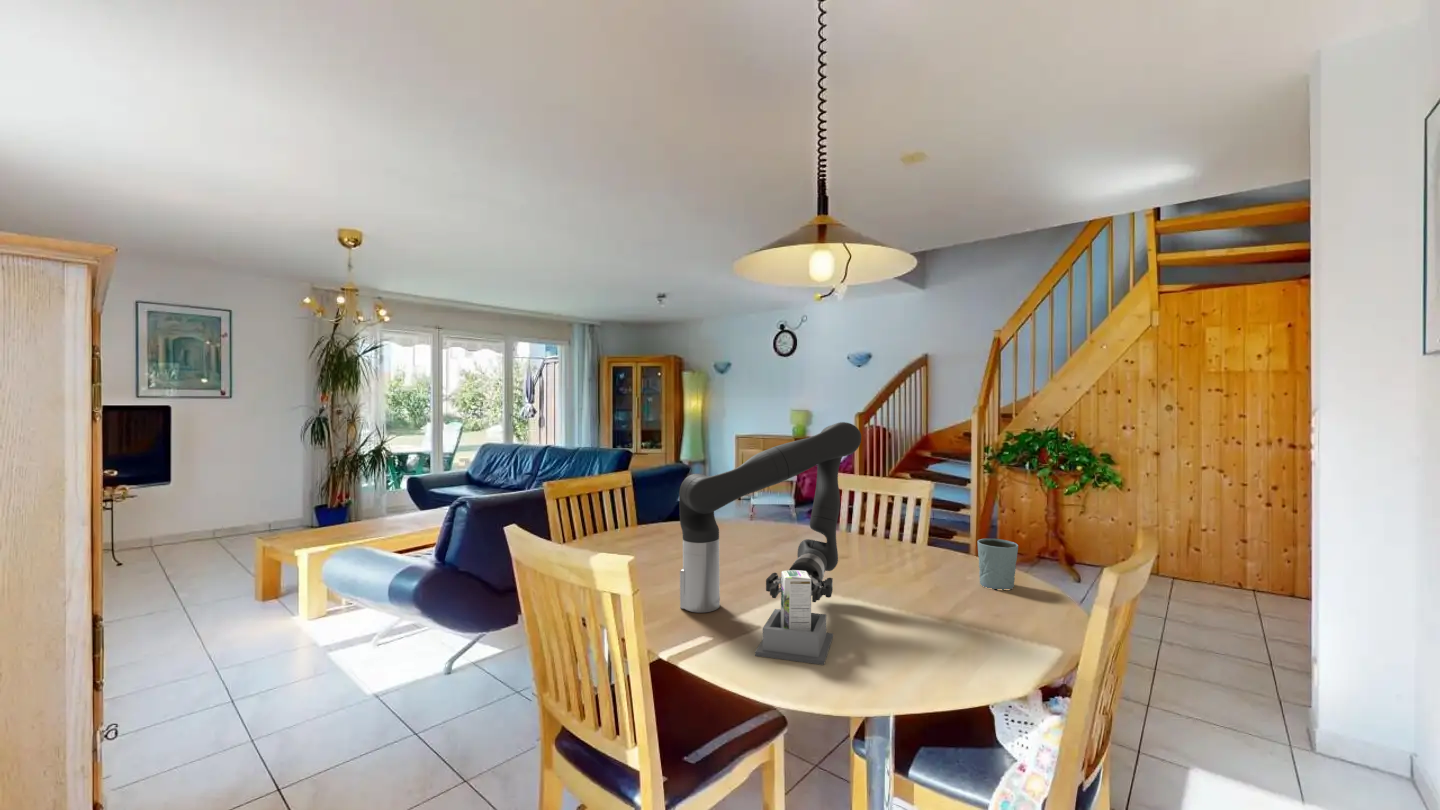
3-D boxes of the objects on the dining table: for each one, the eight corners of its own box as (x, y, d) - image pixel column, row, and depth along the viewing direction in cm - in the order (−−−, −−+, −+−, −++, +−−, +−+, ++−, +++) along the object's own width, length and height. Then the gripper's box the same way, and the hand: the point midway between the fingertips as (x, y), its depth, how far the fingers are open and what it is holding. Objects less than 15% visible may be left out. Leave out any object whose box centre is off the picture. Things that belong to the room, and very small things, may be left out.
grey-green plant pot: (970, 580, 166) (970, 538, 166) (1003, 579, 167) (1003, 537, 167) (990, 592, 156) (990, 547, 156) (1026, 591, 157) (1026, 546, 157)
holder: (755, 655, 119) (754, 629, 119) (770, 629, 133) (770, 606, 133) (823, 665, 115) (823, 638, 115) (833, 636, 128) (832, 612, 128)
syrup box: (780, 636, 127) (779, 570, 126) (807, 635, 127) (806, 569, 127) (784, 648, 121) (783, 578, 121) (812, 647, 121) (812, 577, 121)
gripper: (777, 554, 140) (760, 574, 124) (837, 559, 135) (827, 580, 120) (777, 586, 140) (760, 609, 124) (837, 591, 135) (827, 617, 120)
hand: (793, 595), depth 122 cm, fingers open, 8 cm apart
